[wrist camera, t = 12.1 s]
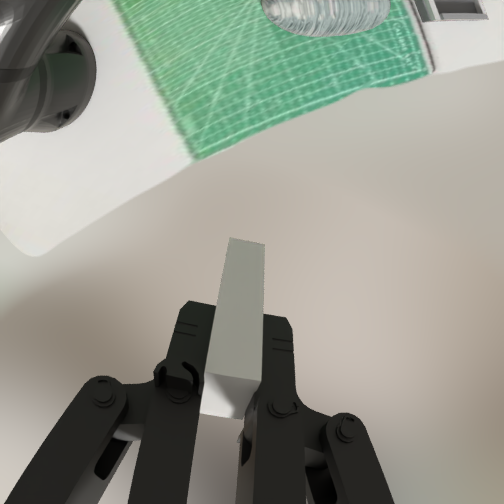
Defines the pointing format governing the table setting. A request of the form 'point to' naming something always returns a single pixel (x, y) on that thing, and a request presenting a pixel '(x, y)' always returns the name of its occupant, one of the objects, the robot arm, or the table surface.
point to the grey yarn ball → (326, 15)
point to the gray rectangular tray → (451, 10)
